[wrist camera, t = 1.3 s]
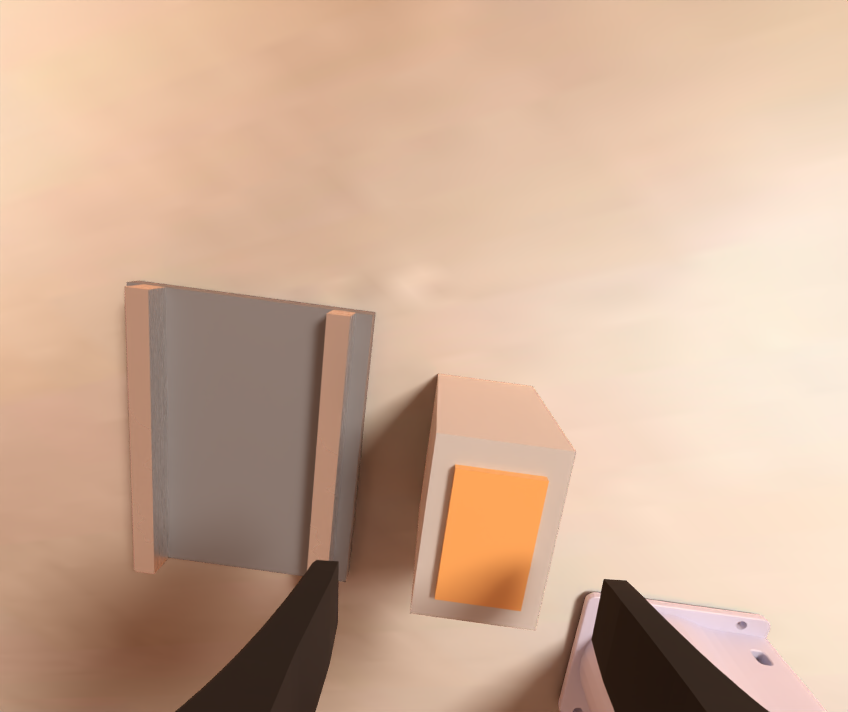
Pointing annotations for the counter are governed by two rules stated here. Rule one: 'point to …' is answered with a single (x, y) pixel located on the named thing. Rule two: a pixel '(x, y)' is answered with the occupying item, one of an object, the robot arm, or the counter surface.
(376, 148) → the counter surface
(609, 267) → the counter surface
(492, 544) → the module block
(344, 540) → the rail mount
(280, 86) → the counter surface
